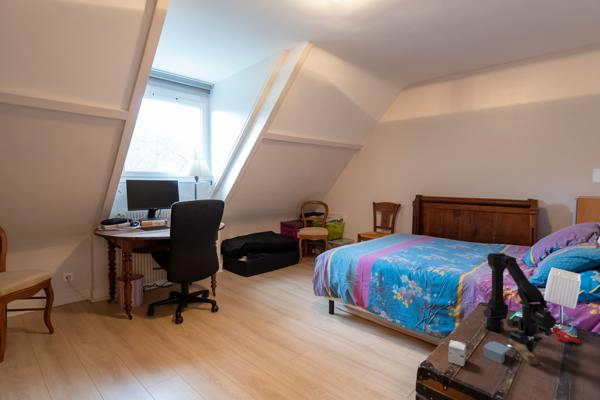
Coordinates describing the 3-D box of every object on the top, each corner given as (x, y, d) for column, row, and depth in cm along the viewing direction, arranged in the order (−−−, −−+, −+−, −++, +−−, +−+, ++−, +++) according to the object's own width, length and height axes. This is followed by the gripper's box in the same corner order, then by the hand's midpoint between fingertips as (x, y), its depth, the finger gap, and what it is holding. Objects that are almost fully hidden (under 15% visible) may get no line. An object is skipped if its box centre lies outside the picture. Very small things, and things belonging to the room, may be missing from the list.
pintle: (502, 344, 146) (502, 336, 145) (509, 340, 149) (510, 332, 149) (519, 351, 140) (519, 343, 139) (526, 346, 143) (526, 338, 143)
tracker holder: (584, 339, 147) (576, 340, 142) (580, 347, 147) (572, 349, 142) (554, 323, 157) (546, 324, 152) (551, 331, 158) (542, 332, 152)
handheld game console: (539, 318, 172) (539, 316, 171) (530, 328, 161) (530, 325, 161) (517, 313, 179) (517, 310, 179) (508, 321, 169) (508, 319, 169)
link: (507, 341, 147) (507, 336, 147) (517, 342, 146) (517, 337, 146) (527, 364, 129) (528, 359, 129) (539, 365, 128) (540, 359, 128)
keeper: (480, 354, 138) (480, 345, 137) (490, 348, 142) (490, 339, 142) (500, 363, 131) (501, 354, 130) (511, 357, 135) (511, 347, 135)
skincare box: (448, 362, 133) (448, 345, 132) (450, 355, 138) (450, 339, 137) (464, 366, 129) (464, 349, 129) (465, 359, 134) (466, 343, 134)
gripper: (526, 306, 145) (526, 338, 147) (497, 314, 139) (497, 348, 140) (552, 316, 135) (552, 350, 136) (522, 325, 129) (522, 361, 130)
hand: (530, 352), depth 136 cm, fingers closed
